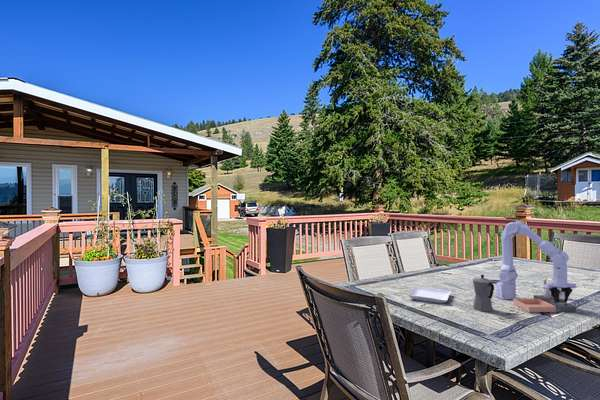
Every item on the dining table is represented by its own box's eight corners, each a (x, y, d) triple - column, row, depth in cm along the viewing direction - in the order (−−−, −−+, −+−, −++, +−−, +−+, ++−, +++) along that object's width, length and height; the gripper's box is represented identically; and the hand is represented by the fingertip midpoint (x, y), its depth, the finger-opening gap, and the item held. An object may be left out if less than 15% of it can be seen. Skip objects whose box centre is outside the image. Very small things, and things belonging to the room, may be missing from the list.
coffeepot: (466, 305, 185) (466, 272, 185) (483, 304, 186) (482, 271, 186) (485, 315, 170) (484, 279, 169) (502, 314, 170) (502, 278, 170)
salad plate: (452, 295, 204) (452, 290, 204) (447, 306, 186) (447, 299, 186) (415, 291, 215) (415, 285, 215) (407, 300, 196) (407, 294, 196)
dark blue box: (559, 299, 192) (559, 279, 192) (542, 296, 198) (542, 277, 198) (562, 297, 195) (562, 278, 195) (546, 294, 201) (545, 275, 201)
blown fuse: (559, 309, 175) (559, 292, 175) (554, 307, 179) (554, 290, 179) (567, 309, 175) (566, 292, 175) (561, 307, 179) (561, 290, 179)
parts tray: (529, 312, 172) (529, 306, 172) (513, 304, 185) (513, 298, 185) (555, 312, 171) (555, 306, 171) (538, 303, 185) (538, 298, 185)
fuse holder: (559, 311, 172) (559, 306, 172) (533, 299, 192) (533, 295, 192) (576, 311, 172) (576, 306, 172) (548, 299, 192) (548, 295, 192)
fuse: (546, 303, 185) (545, 286, 185) (541, 301, 189) (540, 285, 189) (553, 303, 185) (552, 286, 185) (548, 301, 189) (548, 285, 189)
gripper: (551, 277, 173) (551, 304, 173) (580, 277, 172) (581, 304, 173) (541, 274, 180) (542, 300, 180) (570, 274, 179) (570, 299, 180)
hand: (560, 301), depth 177 cm, fingers closed on blown fuse, 4 cm apart
